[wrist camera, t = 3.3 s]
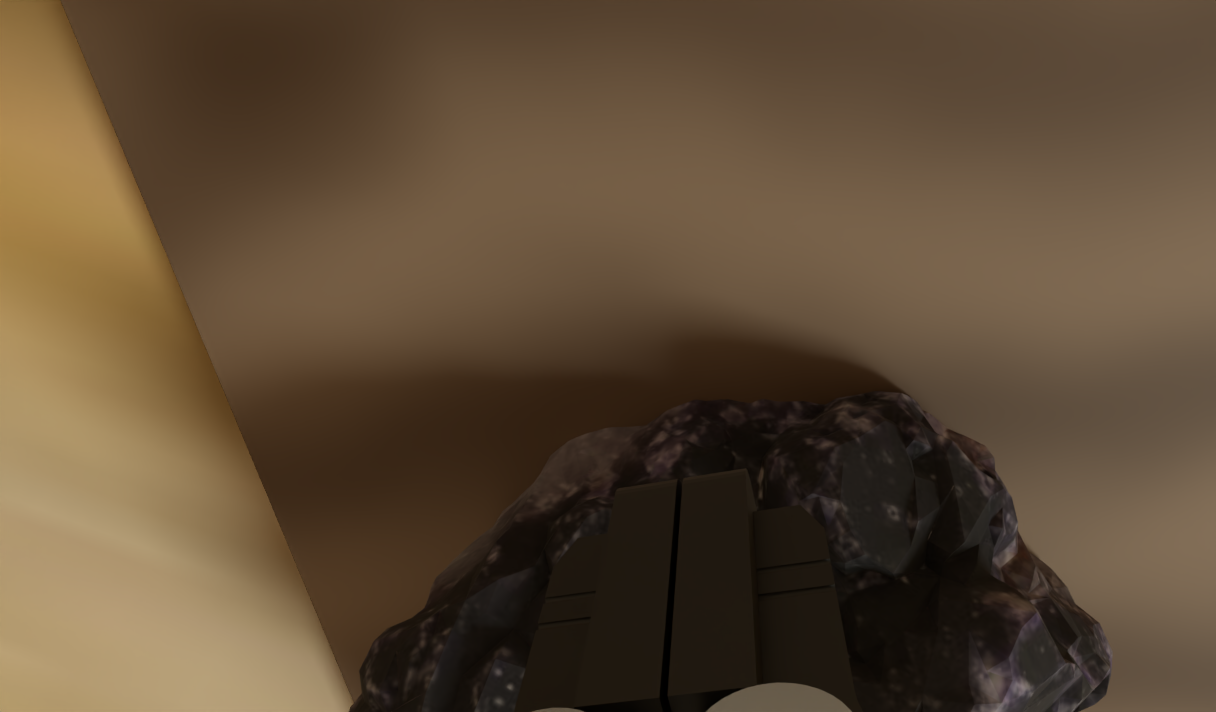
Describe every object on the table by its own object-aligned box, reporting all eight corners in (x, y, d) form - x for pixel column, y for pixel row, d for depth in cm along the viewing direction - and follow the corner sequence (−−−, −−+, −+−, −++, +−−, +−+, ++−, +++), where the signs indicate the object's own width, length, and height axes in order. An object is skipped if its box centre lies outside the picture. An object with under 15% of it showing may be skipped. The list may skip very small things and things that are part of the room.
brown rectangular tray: (1251, 819, 22) (1425, 1101, 17) (452, 881, 26) (381, 1128, 21) (1263, -564, 13) (1653, -936, 8) (28, -164, 17) (-305, -223, 11)
